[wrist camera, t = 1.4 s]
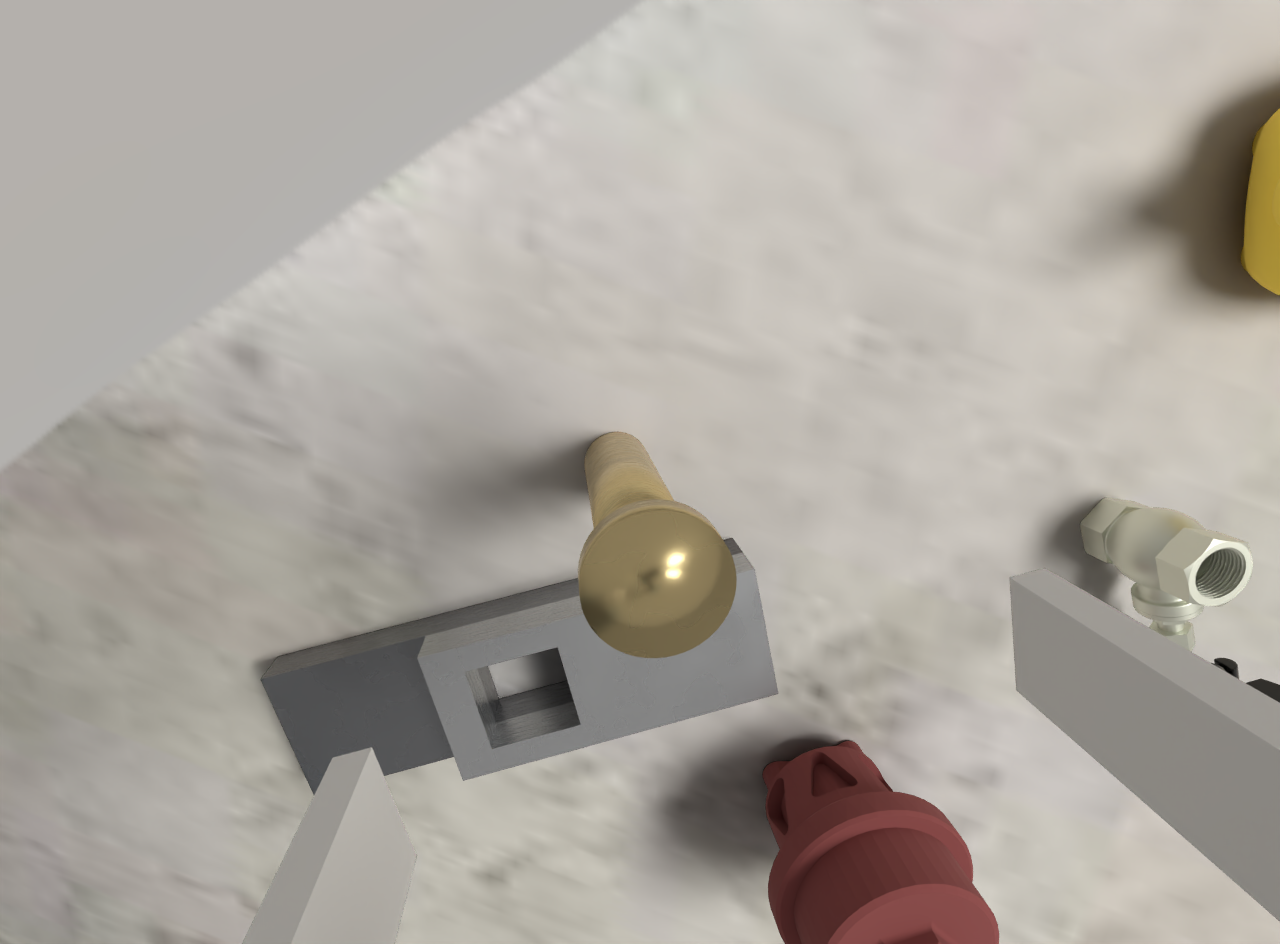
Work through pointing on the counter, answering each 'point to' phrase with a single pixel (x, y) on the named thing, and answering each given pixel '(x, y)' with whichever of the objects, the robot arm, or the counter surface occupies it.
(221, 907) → the counter surface
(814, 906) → the mechanical component
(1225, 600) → the valve
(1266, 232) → the teapot
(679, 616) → the brass knob
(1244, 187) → the counter surface
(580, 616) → the plate with square socket
